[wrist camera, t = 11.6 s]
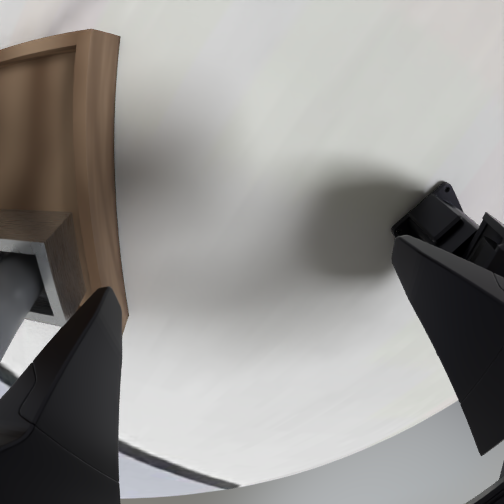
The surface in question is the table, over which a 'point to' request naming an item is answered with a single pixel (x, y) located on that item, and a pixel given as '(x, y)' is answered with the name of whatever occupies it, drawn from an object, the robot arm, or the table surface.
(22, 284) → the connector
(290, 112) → the table surface
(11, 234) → the frame
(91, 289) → the box
